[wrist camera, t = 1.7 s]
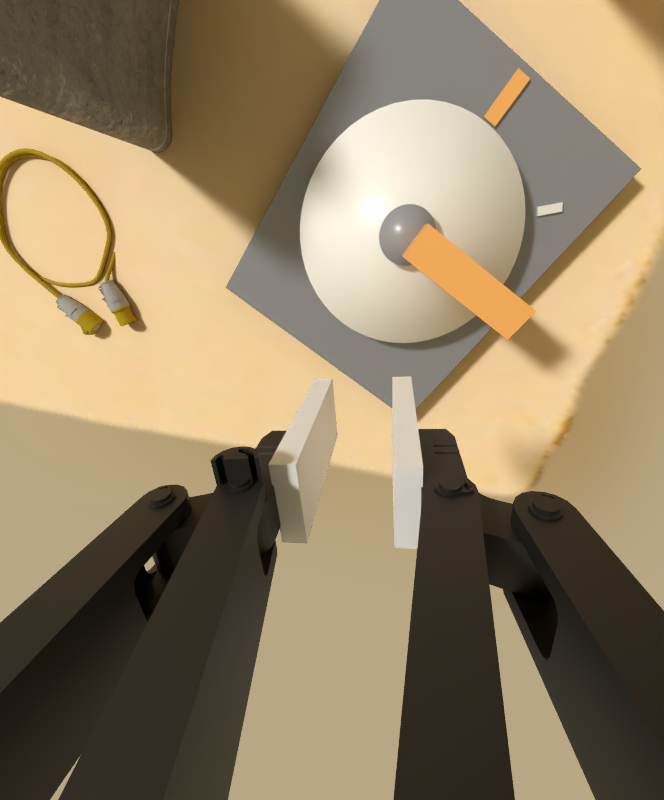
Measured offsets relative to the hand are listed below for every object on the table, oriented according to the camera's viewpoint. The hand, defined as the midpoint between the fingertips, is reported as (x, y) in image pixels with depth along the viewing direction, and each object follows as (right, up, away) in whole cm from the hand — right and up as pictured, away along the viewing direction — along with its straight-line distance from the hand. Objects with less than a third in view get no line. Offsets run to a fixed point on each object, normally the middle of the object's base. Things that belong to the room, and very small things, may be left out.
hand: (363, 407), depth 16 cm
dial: (+5, +12, +12) cm, 18 cm away
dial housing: (+5, +14, +14) cm, 20 cm away
